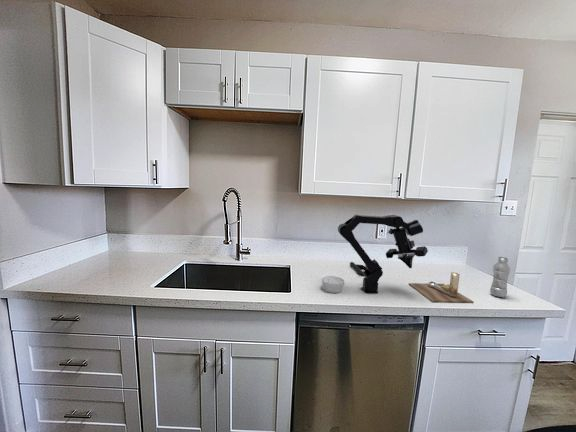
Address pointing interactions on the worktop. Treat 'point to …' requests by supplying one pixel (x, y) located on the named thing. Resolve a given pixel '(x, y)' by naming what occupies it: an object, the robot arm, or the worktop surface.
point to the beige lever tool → (452, 287)
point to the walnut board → (438, 294)
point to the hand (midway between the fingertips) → (410, 267)
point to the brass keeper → (445, 287)
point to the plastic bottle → (500, 278)
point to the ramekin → (332, 284)
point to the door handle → (358, 268)
